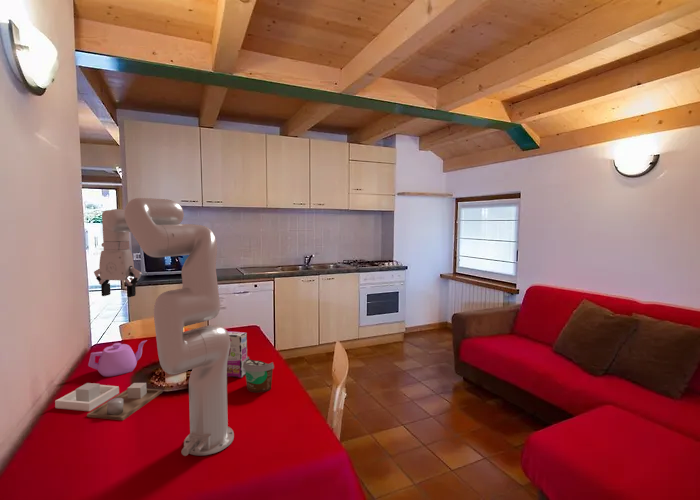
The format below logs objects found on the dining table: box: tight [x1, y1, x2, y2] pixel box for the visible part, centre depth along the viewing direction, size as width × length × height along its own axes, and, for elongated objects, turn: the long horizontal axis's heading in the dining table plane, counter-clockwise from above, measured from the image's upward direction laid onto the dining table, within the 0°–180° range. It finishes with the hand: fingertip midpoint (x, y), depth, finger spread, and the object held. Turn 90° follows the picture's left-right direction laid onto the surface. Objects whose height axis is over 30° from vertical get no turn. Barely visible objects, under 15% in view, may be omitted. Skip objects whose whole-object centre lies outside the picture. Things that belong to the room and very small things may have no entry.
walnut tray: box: [86, 388, 163, 421], centre depth 118 cm, size 18×12×1 cm, turn 172°
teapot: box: [87, 339, 148, 378], centre depth 144 cm, size 13×20×11 cm
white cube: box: [126, 382, 148, 399], centre depth 123 cm, size 4×4×4 cm
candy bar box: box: [227, 330, 248, 379], centre depth 142 cm, size 11×5×16 cm, turn 76°
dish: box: [54, 384, 120, 412], centre depth 120 cm, size 12×12×3 cm
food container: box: [243, 356, 275, 394], centre depth 129 cm, size 12×6×10 cm, turn 62°
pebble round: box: [106, 397, 123, 415], centre depth 112 cm, size 4×4×4 cm
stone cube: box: [75, 382, 101, 402], centre depth 120 cm, size 4×4×4 cm
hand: (118, 295), depth 127 cm, fingers open, 9 cm apart
